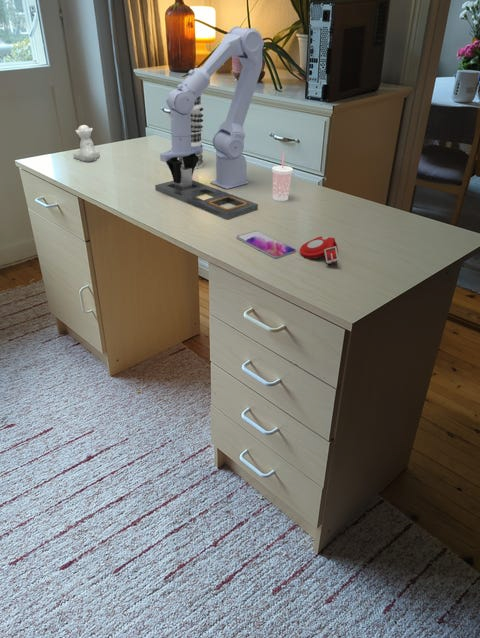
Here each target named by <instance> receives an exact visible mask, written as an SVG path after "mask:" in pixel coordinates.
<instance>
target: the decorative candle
mask: <svg viewBox="0 0 480 638" xmlns="http://www.w3.org/2000/svg"><path fill="white" fill-rule="evenodd" d="M201 95H202V94H201ZM201 95H200V96H199V97H198V98H197V99H196V100H195V103H194V108H193V110H191V147H194V146H200V147H202V149H203V148H204V146H203V145H202V143H203V140H202V133H203V129H202V128H204V126H203V125H202V124H201V123H203V122H204V119H203V117H204V114H202V113H201V112H202V111H204V108H203V107H202V103H201V99H202V98H201ZM196 156H198V157H199V160H198V162H197V163H196V166H195V168H194V170H197V168H198V169H201V168H203V165H204V164H203V162H204V161H203V153H202V154H196ZM178 160H179V161H181V162H182V165H181V166H183V165H184V162H183V158H182V157H181V158H178ZM200 167H201V168H200Z"/></svg>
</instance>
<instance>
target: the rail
mask: <svg viewBox="0 0 480 638" xmlns="http://www.w3.org/2000/svg"><path fill="white" fill-rule="evenodd" d="M154 187H155V191H157V192H159V193H161V192H162V194H165V195H166V194H167V196H169V197H171V198H174V199H176V200H179V201H180V202H183V203H186V204H188V205H190V206H193V207H195V208H198V209H201V210H203V211H206V212H208V213H210V214H212V215H215V216H217V217H219V218H222V219H225V220H230V219H233V218H236V217H238V216H242V215H245V214H247V213H251V212H254V211H257V210H258V209H259V208H258V207H259V204H258V203H255V202H253V201H251V200H247V199H245V198H243V197H242V198H241V197H239V196H236V195H234V194H231V193H229V192H226V191H223V190H220V189H218V188H215V187H212V186H210V185H207V184H205V183H202V182H199V181H196V180H193V179H192V189H188V190H184V191H179V190H177V189H174V181H173V180H171V181H166V182H162V183H158V184H155V185H154ZM203 195H208V196H211V197H210V198H206V199H201V198H199V196H203ZM228 203H229V204H231V205H234V206H233V207H228V208H226V207H224V206H221V205H224V204H228Z"/></svg>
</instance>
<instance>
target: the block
mask: <svg viewBox="0 0 480 638" xmlns="http://www.w3.org/2000/svg"><path fill="white" fill-rule="evenodd" d="M192 180H193V175H192V168H189V167H186V166H184V165H183V166H181V170H180V183H179V184H178V183H175V182H174V189H177V190H179V191H184V190H188V189H192ZM172 181H174V180H173V179H172Z"/></svg>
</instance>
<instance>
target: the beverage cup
mask: <svg viewBox="0 0 480 638" xmlns="http://www.w3.org/2000/svg"><path fill="white" fill-rule="evenodd" d="M281 159H282V160H281V165H274V166H272V168H271V171H272V199H273V200H274V201H279V202H283V201H285V202H286V201H288V200H289V195H290V187H291V180H292V173H293V172H294V171H293V170H294V169H293V167H291V166H288V165H284V163H285V150H282V158H281Z"/></svg>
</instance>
